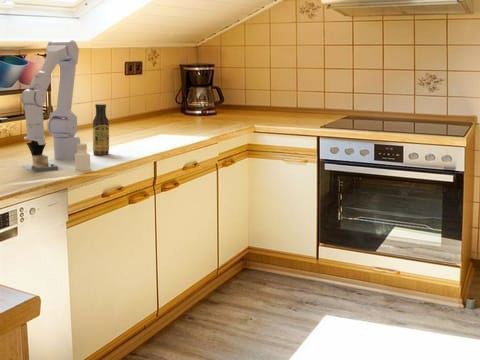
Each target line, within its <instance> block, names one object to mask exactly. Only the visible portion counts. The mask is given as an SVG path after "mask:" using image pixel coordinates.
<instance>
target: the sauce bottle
mask: <svg viewBox="0 0 480 360" xmlns="http://www.w3.org/2000/svg"><path fill="white" fill-rule="evenodd" d="M94 107H95V117H94V119H93V120H92V151H93V155H95V156H107V155H108V154H109V153H110V151H109V150H110V125H109V123H110V122H109V119H108V117H107V113H106V112H107V104H106V103H95V106H94Z"/></svg>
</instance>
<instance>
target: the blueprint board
mask: <svg viewBox="0 0 480 360" xmlns="http://www.w3.org/2000/svg"><path fill="white" fill-rule="evenodd" d="M21 167H22V168H24V169H26V170H28V171H29V172H30V173H32V174H41V173H49V172H56V171H57V172H58V171H59V172H60V171H63V169H62V168H60V167H59V166H58V165H56V164H54V163H51V162H48V167H42V168H37V167H35V166H33V164H26V165H21Z"/></svg>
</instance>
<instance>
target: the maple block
mask: <svg viewBox="0 0 480 360" xmlns="http://www.w3.org/2000/svg"><path fill="white" fill-rule="evenodd" d="M31 158H32V165H33V166H35V167H37V168H42V167H48V163H49V156H47V155H46V154H44V153H42V155H33V156H32V155H31Z"/></svg>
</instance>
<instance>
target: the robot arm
mask: <svg viewBox="0 0 480 360" xmlns="http://www.w3.org/2000/svg"><path fill="white" fill-rule="evenodd" d="M45 50H46V56H45V59H44V62H43V63H42V67H41V69H40V71H37V72H35V73H34V75H33V77H32V79H31V81H30V84H29V85H28V87H27V88H26V89H24V90H23V91H22V92H21V96H20V103H21V104H22V106H23V107H22V108H23V110H24V111H25V112H24V113H25V126H26V127H25V128H26V136H24V137H23V140H25V141H27V140H28V141H29V142H26V145H27V147H28V148H29V150H30V153H31V157H32V156H33V155H43V154H44V153H43V152H44V149H45V148H46V145H47V143H46V136H45V127H44V112H43V111H44V110H43V105H44V104H45V103H46V101H47V100H46V99H47V97H46V96H47V90H48V88H49V85H50V84H51V82H52V78H51V74H52V73H53V72H54V70H55V69H56V66H59V67H60V75H59V81H58V83H59V85H58V91H57V92H58V93H57V99H56V100H57V102H56V109H54V110H53V111H52V112H51V113H50V114H49V118H48V119H49V120H48V121H47V124H46V125H47V131H48V133H49V134H50V136H51V137H52V139H53V141H52V142H53V155H54V159H55V160H71V159H72V160H73V159H75V154H77V153H78V150H77V144H81V140H80V139H81V138H80V137H79V135H76V134H77V132H78V128H79V127H78V125H79V124H78V116H77V115H76V114H75V113H74V112H73V111H72V103H73V97H74V95H73V94H74V89H75V80H76V79H75V77H76V68H77V65H78V63H79V53H80V51H79V50H80V49H79V45H78V44H77V42H76V41H75V40H73V39H70V40H60V39H59V40H56V39H55V40H54V39H50V40H49V41H48V43H47V46H46V47H45Z"/></svg>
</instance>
